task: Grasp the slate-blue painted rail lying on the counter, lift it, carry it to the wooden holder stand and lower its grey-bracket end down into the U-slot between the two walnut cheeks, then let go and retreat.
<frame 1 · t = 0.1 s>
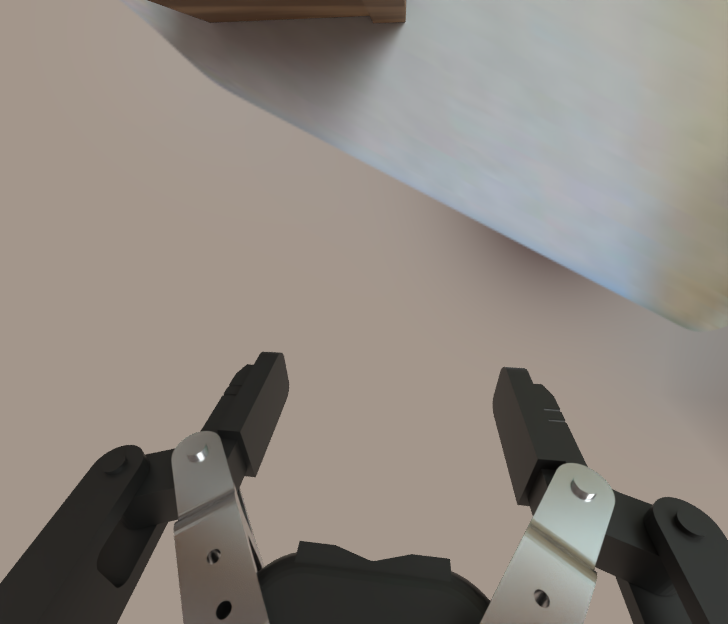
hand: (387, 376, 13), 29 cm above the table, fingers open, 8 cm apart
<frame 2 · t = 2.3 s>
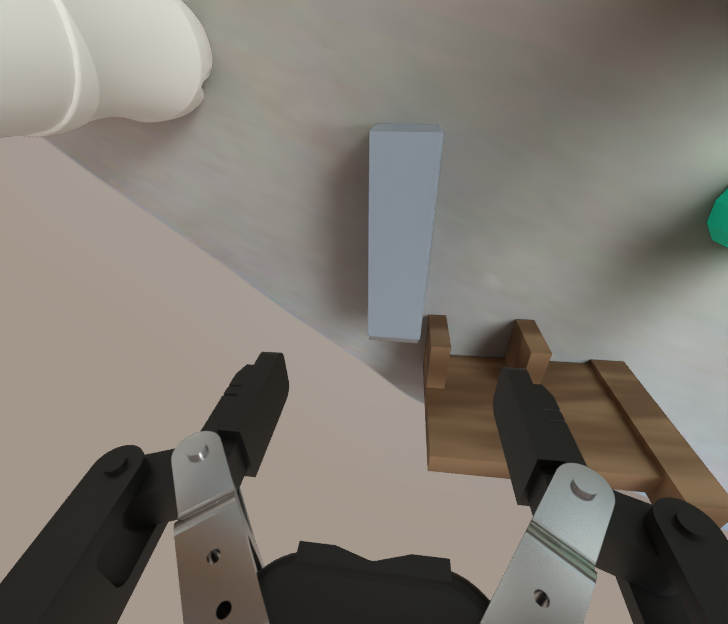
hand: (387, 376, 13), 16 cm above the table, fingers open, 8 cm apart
water bottle: (172, 53, 22), on the table
wooden holder stand: (514, 346, 31), on the table
rail: (400, 226, 26), on the table
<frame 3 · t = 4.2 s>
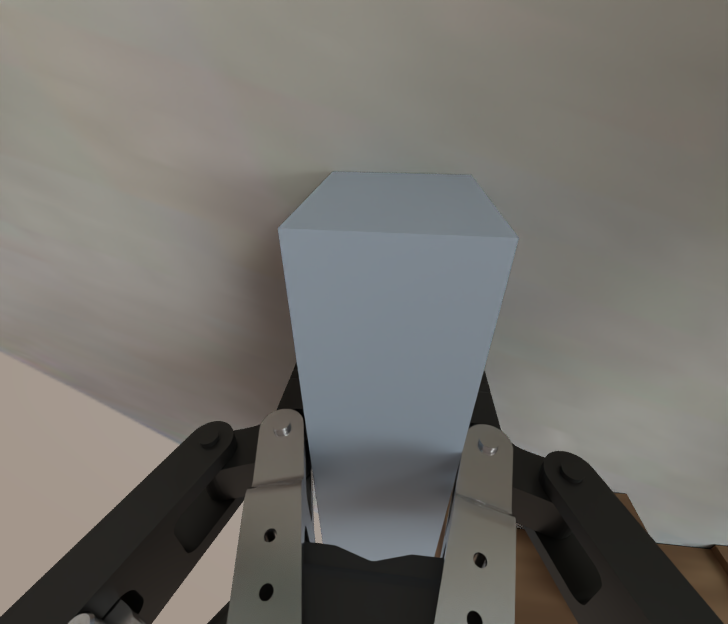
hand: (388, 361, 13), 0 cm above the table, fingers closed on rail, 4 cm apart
wooden holder stand: (584, 521, 18), on the table
rail: (389, 357, 14), on the table, touching gripper
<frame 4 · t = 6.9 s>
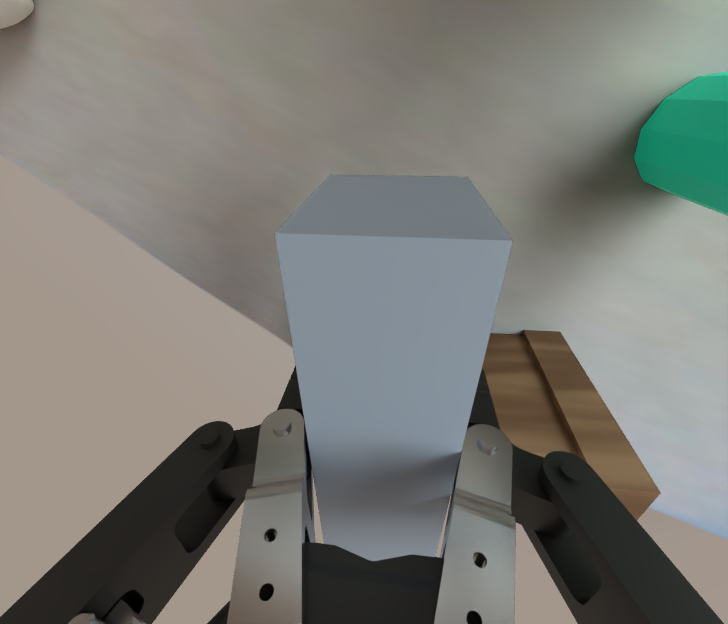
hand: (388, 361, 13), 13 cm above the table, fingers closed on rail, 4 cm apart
wooden holder stand: (437, 315, 27), on the table
rail: (389, 358, 14), point 13 cm above the table, touching gripper
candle: (692, 135, 19), on the table
when the fingers open (1 cm above the table, at t = 9.8 s): rail drops 1 cm, on the table.
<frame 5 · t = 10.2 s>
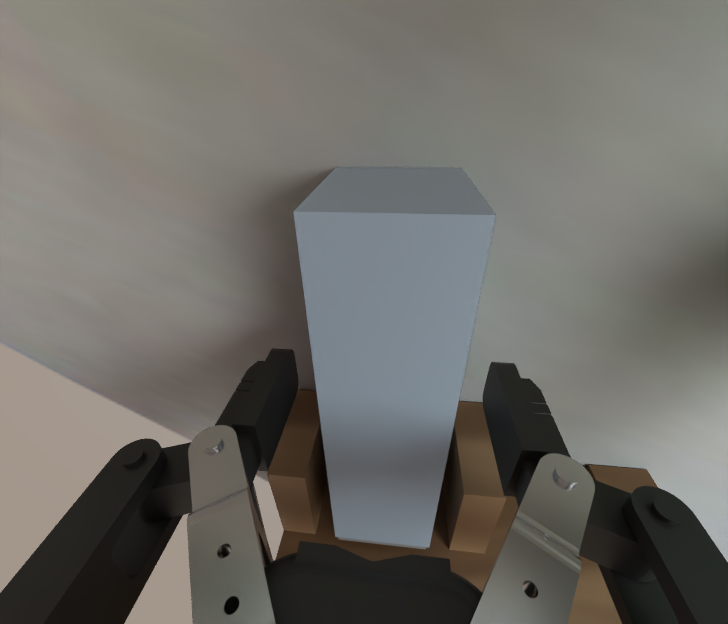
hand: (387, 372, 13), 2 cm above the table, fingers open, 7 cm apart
wooden holder stand: (453, 440, 18), on the table
rail: (391, 339, 15), on the table
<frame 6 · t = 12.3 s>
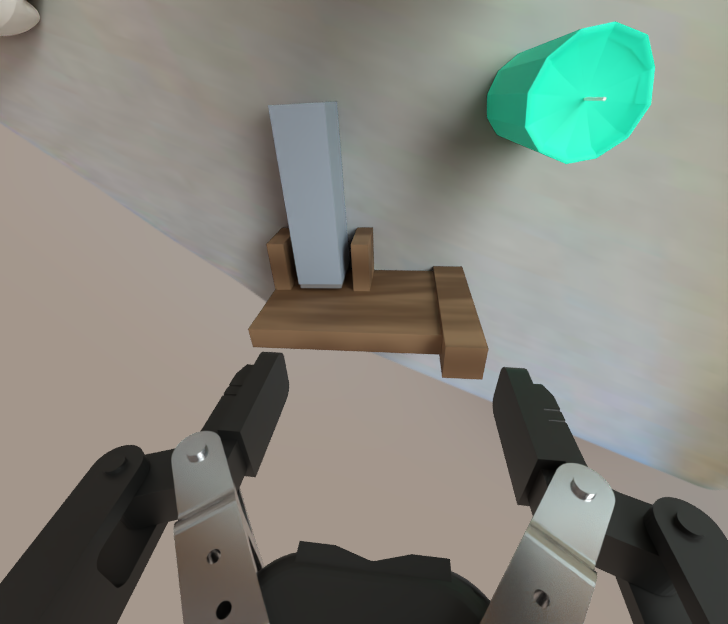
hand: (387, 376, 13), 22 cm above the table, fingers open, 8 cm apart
wooden holder stand: (363, 256, 34), on the table
rail: (322, 191, 31), on the table
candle: (526, 98, 26), on the table
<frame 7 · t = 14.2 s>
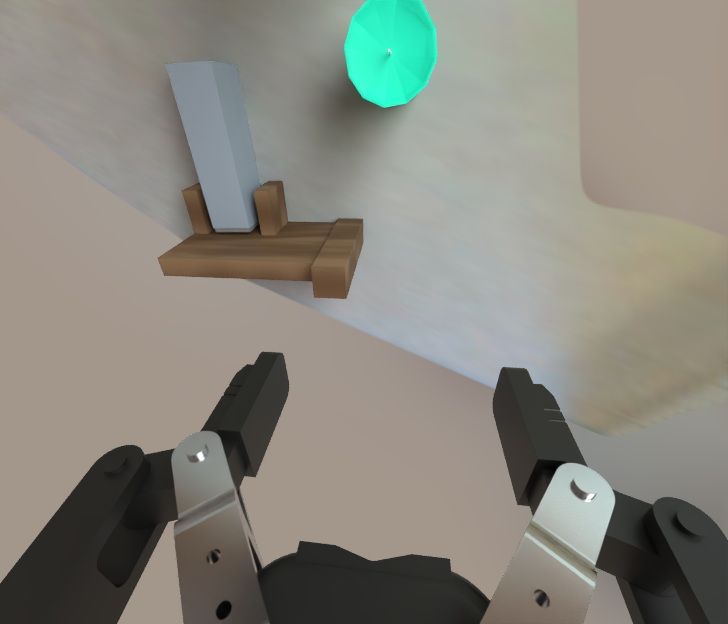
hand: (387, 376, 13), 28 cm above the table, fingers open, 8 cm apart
wooden holder stand: (277, 208, 38), on the table
rail: (235, 147, 35), on the table
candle: (395, 64, 30), on the table
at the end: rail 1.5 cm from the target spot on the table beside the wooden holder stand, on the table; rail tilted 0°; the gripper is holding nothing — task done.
